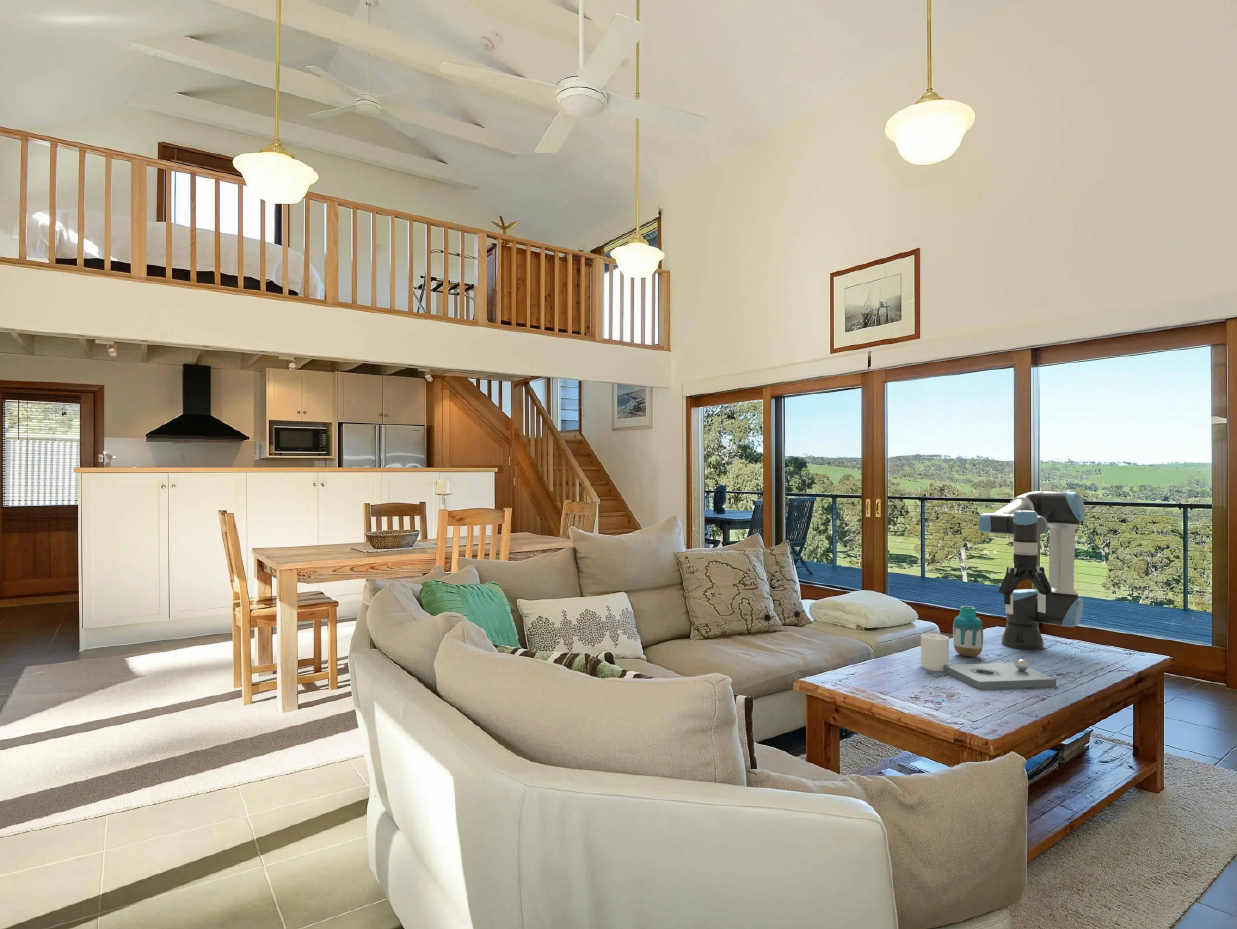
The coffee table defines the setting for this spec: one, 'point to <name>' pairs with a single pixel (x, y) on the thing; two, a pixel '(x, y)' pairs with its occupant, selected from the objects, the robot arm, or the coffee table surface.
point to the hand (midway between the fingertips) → (1025, 613)
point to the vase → (968, 632)
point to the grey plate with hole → (998, 676)
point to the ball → (1021, 665)
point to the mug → (934, 651)
